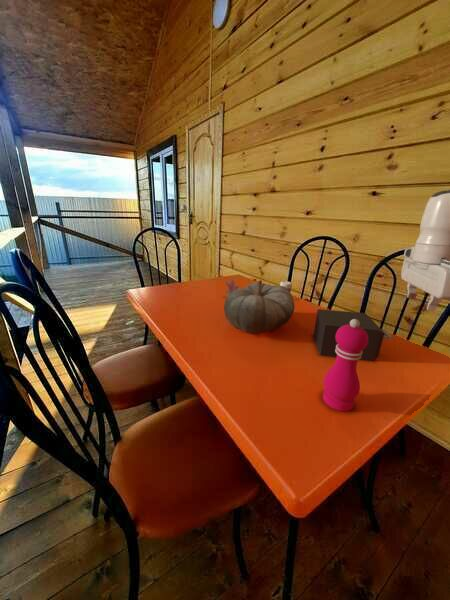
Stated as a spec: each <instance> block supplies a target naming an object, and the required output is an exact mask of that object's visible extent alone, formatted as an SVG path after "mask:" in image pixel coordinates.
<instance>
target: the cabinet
mask: <svg viewBox="0 0 450 600" xmlns="http://www.w3.org/2000/svg"><path fill="white" fill-rule="evenodd" d="M369 317H370V316H369V315H368V314H367V313H366V312H355V311H345V310H343V311H342V310H333V309H332V310H331V309H321V308H317V310H316V317H315V323H314V329H313V339H314V341H315V345H316V347H317V351H318V353H319V355H320V356H324V357H334V358H337V353H336V352H335V349H336V345H337V344H338V343H337V342H336V338H335V336H336V332H337V330H338V329H339V328H340V327H342V326H344V325H350V321H351V320H352V319H357V320H358V321H359V322H360V325H359V327H361V328H362V329H364V330H365V331H366V333H367V335H368V344H367V346H366V348H364V349H363V350H362V351H363V353H362V357H361V359H359V360H358V361H369V362H374V361H375V358H376V357H375V354H376V350H377V346H378V342H379V338H380V334H381V331H382V329H381V328H380V327H379V325H378V324H377V323H376V322H375V321H374V320H373V319H372V318H371V317H370V318H371V319H372V320H373V321H374V322H375V323H376V324H375V323H374V322H373V321H372V320H371V319H370V318H369Z"/></svg>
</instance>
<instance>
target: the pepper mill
mask: <svg viewBox="0 0 450 600" xmlns="http://www.w3.org/2000/svg"><path fill="white" fill-rule="evenodd" d="M359 325H360V322H359V321H358V320H357V319H352V320H351V321H350V325H344V326H342V327H340V328H339V329H338V330H337V332H336V336H335V338H336V342H337V343H338V344H337V345H336V349H335V352H336V353H337V357H335V358H336V359H335V361H334V364H333V365H332V366H331V368H329V370H328V371H327V372H326V373H325V376H324V378H323V387H324V390H323V393H322V400H323V402H324V403H325V404H326V405H327V406H328V407H329V408H331V409H333V410H336V411H339V412H348V411H350V410H352V409H353V408H354V404H355V398H357V397H358V396H359V394H360V392H361V391H360V389H361V385H360V384H361V383H360V378H359V375H358V372H357V365H358V362H359V361H360V360H359V359H361V357H362V353H363V351H362V350H363V349H364V348H366V346H367V344H368V335H367V333H366V331H365V330H364V329H362V328H361V327H359Z"/></svg>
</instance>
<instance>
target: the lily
mask: <svg viewBox="0 0 450 600" xmlns="http://www.w3.org/2000/svg"><path fill="white" fill-rule="evenodd" d="M223 283H224V284H225V286H226V287H227V289H226V291H225V296H224V298H227V296H228V295H229V294H230V293H231V292H232V291H234V290H238V289H240V286H239V285H237V284H236V281H235V279H234V277H233V276H232V275H231V276H230V280H229V282H228V281H226V280H223Z"/></svg>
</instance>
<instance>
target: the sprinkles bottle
mask: <svg viewBox="0 0 450 600" xmlns="http://www.w3.org/2000/svg"><path fill="white" fill-rule="evenodd" d="M279 286H284V287H286V288H287V289H288V290H289V292H290V293H291V292H292V288H293V283H292V282H291V281H286V280H285V281H284V280H283V281H280V282H279ZM291 294H292V293H291Z"/></svg>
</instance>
